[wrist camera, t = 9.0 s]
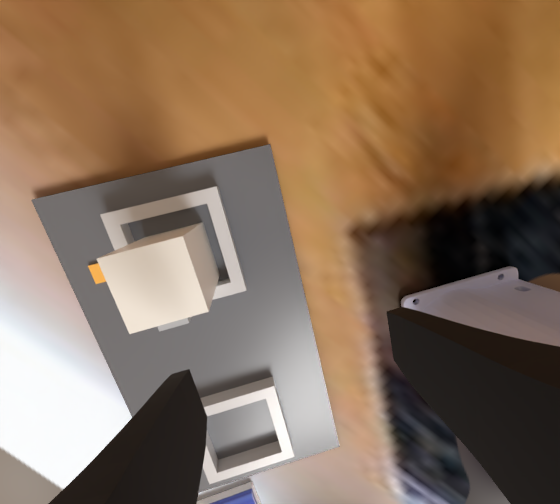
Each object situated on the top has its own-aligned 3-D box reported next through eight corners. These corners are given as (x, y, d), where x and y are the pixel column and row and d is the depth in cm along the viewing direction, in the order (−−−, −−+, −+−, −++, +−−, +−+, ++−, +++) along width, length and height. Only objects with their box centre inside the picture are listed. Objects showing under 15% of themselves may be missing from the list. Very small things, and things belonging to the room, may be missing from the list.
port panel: (269, 145, 16) (271, 141, 15) (337, 441, 22) (344, 458, 21) (38, 199, 15) (16, 200, 14) (173, 494, 21) (167, 516, 20)
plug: (202, 222, 16) (182, 236, 11) (221, 280, 17) (211, 319, 12) (145, 237, 16) (96, 258, 11) (167, 295, 17) (132, 342, 12)
